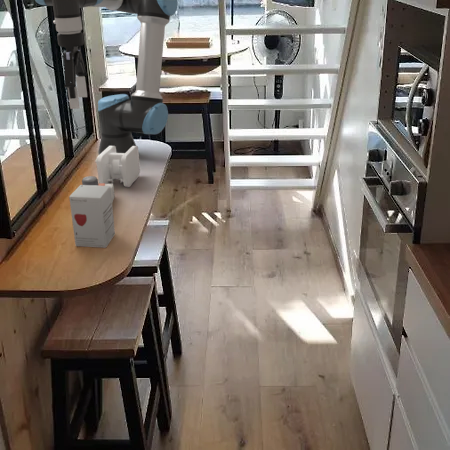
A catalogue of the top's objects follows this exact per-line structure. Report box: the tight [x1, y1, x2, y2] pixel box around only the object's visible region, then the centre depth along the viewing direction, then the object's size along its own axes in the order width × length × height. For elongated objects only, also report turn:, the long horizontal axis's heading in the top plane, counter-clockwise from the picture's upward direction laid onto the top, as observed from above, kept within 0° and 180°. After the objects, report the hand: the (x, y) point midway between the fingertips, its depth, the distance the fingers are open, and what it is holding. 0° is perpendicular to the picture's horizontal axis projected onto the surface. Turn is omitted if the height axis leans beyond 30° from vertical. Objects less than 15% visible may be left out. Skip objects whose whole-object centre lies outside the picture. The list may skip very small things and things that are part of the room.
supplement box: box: [68, 184, 116, 249], centre depth 167 cm, size 9×9×15 cm
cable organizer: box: [95, 145, 141, 188], centre depth 208 cm, size 15×11×12 cm
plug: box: [81, 175, 99, 185], centre depth 182 cm, size 5×5×10 cm
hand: (79, 102), depth 189 cm, fingers open, 13 cm apart
